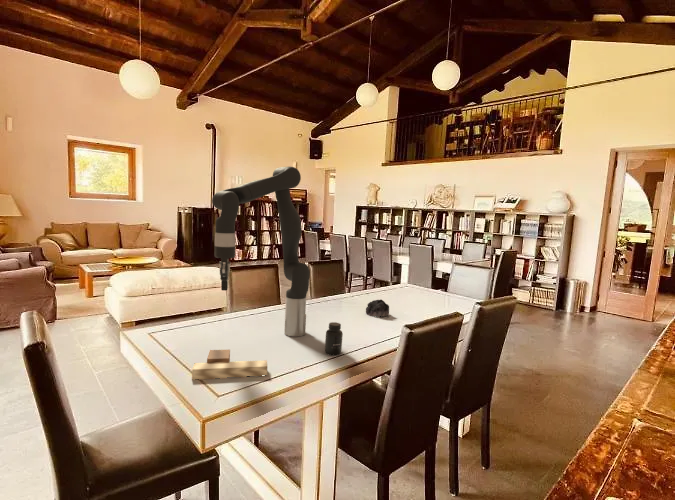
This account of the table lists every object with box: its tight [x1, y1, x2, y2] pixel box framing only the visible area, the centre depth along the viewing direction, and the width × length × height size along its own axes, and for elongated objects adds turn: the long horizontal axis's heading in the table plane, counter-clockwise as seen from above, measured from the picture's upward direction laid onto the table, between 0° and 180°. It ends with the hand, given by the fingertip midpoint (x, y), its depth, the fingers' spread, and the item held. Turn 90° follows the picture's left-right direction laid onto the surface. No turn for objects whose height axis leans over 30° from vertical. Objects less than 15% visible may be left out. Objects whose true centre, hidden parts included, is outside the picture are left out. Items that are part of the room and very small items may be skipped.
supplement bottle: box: [324, 321, 343, 356], centre depth 148 cm, size 7×7×12 cm
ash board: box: [191, 359, 268, 381], centre depth 124 cm, size 24×5×4 cm, turn 103°
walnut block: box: [206, 349, 231, 363], centre depth 129 cm, size 7×8×5 cm
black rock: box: [365, 299, 390, 318], centre depth 208 cm, size 13×14×10 cm
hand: (224, 289), depth 139 cm, fingers closed
